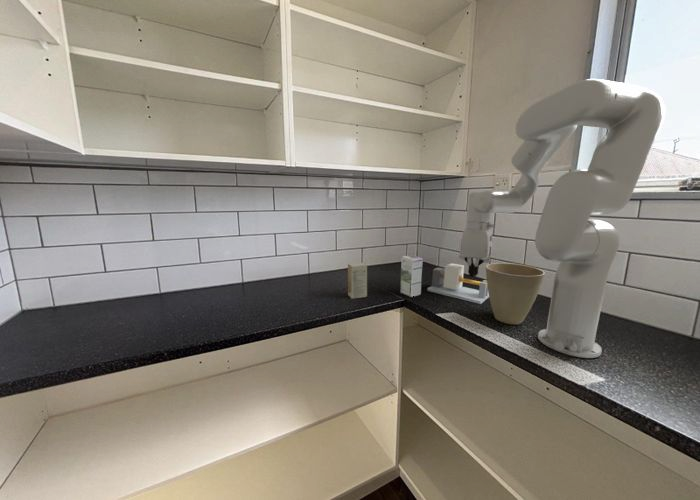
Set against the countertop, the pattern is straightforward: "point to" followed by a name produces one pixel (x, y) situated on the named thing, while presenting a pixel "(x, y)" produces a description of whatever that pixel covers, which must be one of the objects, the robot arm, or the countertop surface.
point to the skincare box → (357, 280)
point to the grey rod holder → (462, 292)
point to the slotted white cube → (453, 276)
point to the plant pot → (512, 290)
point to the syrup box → (411, 275)
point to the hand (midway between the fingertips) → (472, 275)
